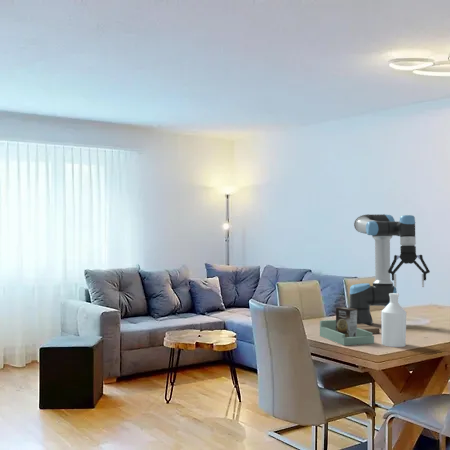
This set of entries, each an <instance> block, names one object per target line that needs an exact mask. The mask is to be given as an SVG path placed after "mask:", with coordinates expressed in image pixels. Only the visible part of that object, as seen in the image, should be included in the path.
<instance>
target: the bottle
mask: <svg viewBox="0 0 450 450" xmlns="http://www.w3.org/2000/svg"><path fill="white" fill-rule="evenodd" d="M389 296H390V303H389V304H388V305H387V306H384V308H383V309H382V310H381V345H382V346H386V347H391V348H392V347H393V348H403V347H405V346H406V344H407V343H406V342H407V340H406V339H407V311H406V310H405V309H404V308H403V307H402V305H400V304H399V296H400V294H399V293H398V292H397V293H389Z"/></svg>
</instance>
